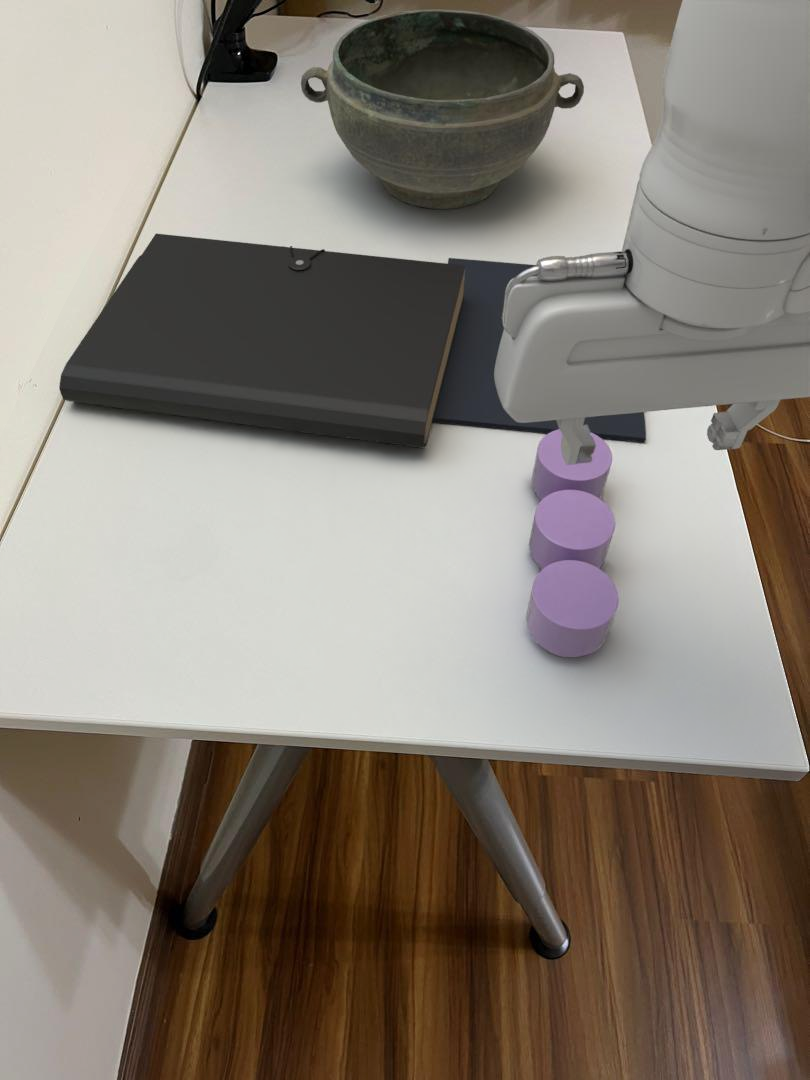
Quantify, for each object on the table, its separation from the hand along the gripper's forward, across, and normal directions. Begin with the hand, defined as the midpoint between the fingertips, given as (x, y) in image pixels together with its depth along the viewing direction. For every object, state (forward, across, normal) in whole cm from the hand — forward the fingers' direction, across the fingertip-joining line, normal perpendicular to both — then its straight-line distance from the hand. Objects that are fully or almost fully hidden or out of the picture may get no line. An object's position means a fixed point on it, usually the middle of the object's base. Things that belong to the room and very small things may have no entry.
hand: (649, 449), depth 52 cm
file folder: (+16, -22, +33) cm, 43 cm away
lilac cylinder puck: (+16, -1, +4) cm, 17 cm away
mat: (+16, +3, +31) cm, 35 cm away
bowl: (+16, -1, +65) cm, 67 cm away
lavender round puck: (+16, -3, -2) cm, 16 cm away
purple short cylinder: (+16, 0, +11) cm, 20 cm away
